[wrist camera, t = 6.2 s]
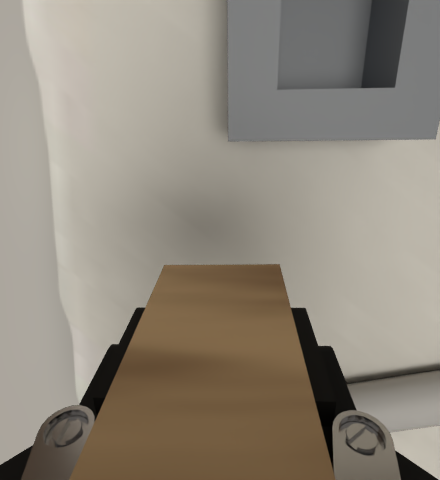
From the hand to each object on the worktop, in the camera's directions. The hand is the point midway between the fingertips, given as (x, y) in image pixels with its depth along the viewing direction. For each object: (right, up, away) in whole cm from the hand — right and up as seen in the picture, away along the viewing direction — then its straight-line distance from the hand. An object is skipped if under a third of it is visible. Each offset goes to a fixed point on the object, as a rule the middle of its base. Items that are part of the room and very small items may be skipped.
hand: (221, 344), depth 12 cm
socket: (+7, +19, +14) cm, 24 cm away
